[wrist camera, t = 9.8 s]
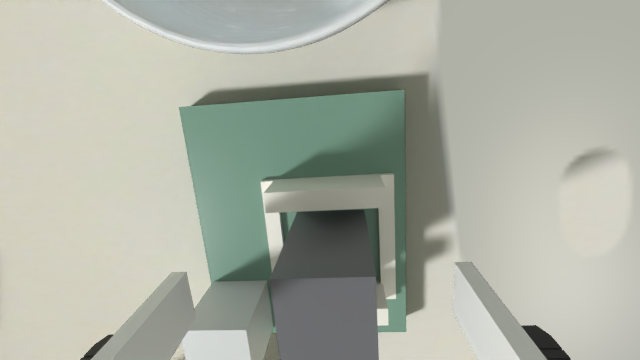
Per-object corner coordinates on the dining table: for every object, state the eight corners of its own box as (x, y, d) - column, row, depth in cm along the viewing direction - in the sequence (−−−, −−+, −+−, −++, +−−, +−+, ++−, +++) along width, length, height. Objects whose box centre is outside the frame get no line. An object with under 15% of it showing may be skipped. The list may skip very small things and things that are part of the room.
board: (190, 106, 21) (150, 109, 17) (400, 89, 20) (415, 88, 16) (227, 319, 26) (203, 365, 21) (402, 317, 24) (415, 365, 20)
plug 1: (213, 281, 23) (179, 330, 18) (267, 280, 23) (246, 330, 18) (222, 327, 24) (191, 386, 19) (273, 327, 24) (255, 386, 19)
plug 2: (296, 212, 21) (269, 279, 13) (364, 209, 21) (375, 276, 13) (303, 275, 22) (281, 370, 15) (367, 274, 22) (378, 370, 14)
